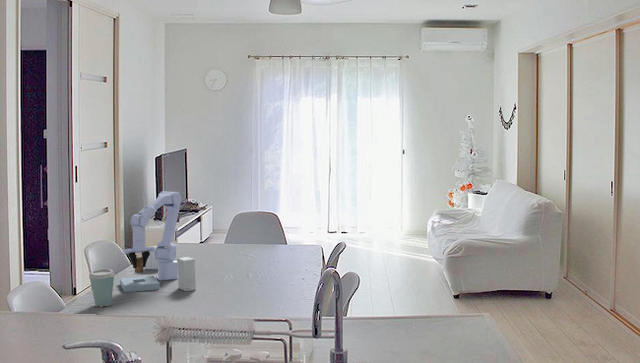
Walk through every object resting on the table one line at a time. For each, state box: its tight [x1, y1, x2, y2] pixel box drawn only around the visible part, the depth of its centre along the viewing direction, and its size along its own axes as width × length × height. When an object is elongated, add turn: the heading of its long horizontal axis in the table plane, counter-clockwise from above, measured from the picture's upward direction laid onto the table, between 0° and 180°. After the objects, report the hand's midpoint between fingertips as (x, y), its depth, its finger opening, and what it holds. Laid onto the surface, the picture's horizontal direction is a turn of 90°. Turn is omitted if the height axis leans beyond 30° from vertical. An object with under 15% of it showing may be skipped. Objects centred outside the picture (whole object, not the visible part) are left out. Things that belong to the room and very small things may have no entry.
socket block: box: [119, 275, 160, 293], centre depth 325 cm, size 16×16×3 cm
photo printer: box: [144, 245, 158, 270], centre depth 363 cm, size 10×4×12 cm, turn 98°
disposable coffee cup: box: [88, 268, 115, 308], centre depth 291 cm, size 11×11×15 cm
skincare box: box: [176, 256, 197, 292], centre depth 321 cm, size 8×6×15 cm
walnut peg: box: [134, 256, 144, 274], centre depth 324 cm, size 4×4×7 cm
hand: (139, 267), depth 324 cm, fingers closed on walnut peg, 4 cm apart
